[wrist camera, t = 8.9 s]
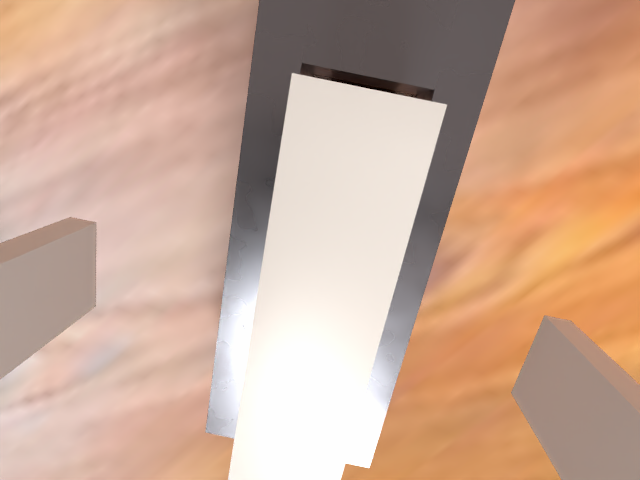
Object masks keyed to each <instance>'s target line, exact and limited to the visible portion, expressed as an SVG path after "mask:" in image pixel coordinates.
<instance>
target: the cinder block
mask: <svg viewBox="0 0 640 480" xmlns="http://www.w3.org/2000/svg"><path fill="white" fill-rule="evenodd" d="M514 2H515V0H259V8H258V16H257V24H256V32H255V40H254V48H253V56H252V64H251V72H250V80H249V88H248V96H247V104H246V112H245V120H244V128H243V136H242V144H241V152H240V160H239V168H238V176H237V184H236V192H235V200H234V208H233V216H232V224H231V232H230V240H229V248H228V256H227V264H226V272H225V281H224V289H223V297H222V305H221V313H220V321H219V329H218V337H217V345H216V353H215V361H214V369H213V377H212V385H211V393H210V401H209V409H208V417H207V425H206V432H207V433H211V434H216V435H220V436H225V437H229V438H234V439H235V433H236V426H237V420H238V413H239V407H240V401H241V394H242V388H243V382H244V375H245V369H246V362H247V356H248V350H249V343H250V337H251V331H252V324H253V318H254V312H255V305H256V299H257V292H258V286H259V280H260V273H261V267H262V261H263V254H264V248H265V241H266V235H267V229H268V222H269V216H270V210H271V203H272V197H273V191H274V184H275V178H276V171H277V165H278V159H279V152H280V146H281V140H282V133H283V127H284V120H285V114H286V108H287V101H288V95H289V89H290V82H291V76H292V73H295V74H300V75H305V76H309V77H313V74H315V75H320V76H325V77H330V78H335V79H340V80H345V81H350V82H355V83H359V84H364V85H369V86H374V87H379V88H384V89H389V90H394V91H399V92H404V93H409V94H413V95H416V98H417V99H422V100H427V101H432V102H437V103H442V104H447V107H446V111H445V114H444V118H443V121H442V125H441V128H440V132H439V135H438V139H437V142H436V146H435V149H434V153H433V156H432V160H431V163H430V167H429V170H428V174H427V177H426V181H425V184H424V188H423V192H422V195H421V199H420V202H419V206H418V209H417V213H416V216H415V220H414V223H413V227H412V230H411V234H410V237H409V241H408V244H407V248H406V251H405V255H404V258H403V262H402V265H401V269H400V273H399V276H398V280H397V283H396V287H395V290H394V294H393V297H392V301H391V304H390V308H389V311H388V315H387V318H386V322H385V325H384V329H383V332H382V336H381V339H380V343H379V346H378V350H377V353H376V357H375V361H374V364H373V368H372V371H371V375H370V378H369V382H368V385H367V389H366V392H365V396H364V399H363V403H362V406H361V410H360V413H359V417H358V420H357V424H356V427H355V431H354V434H353V438H352V442H351V445H350V449H349V452H348V456H347V459H346V463H348V464H353V465H357V466H362V467H367V468H369V467H370V464H371V461H372V457H373V454H374V451H375V448H376V445H377V441H378V438H379V435H380V432H381V429H382V425H383V422H384V419H385V416H386V413H387V409H388V406H389V403H390V400H391V397H392V393H393V390H394V387H395V384H396V381H397V377H398V374H399V371H400V368H401V365H402V361H403V358H404V355H405V352H406V348H407V345H408V342H409V339H410V336H411V332H412V329H413V326H414V323H415V320H416V316H417V313H418V310H419V307H420V304H421V300H422V297H423V294H424V291H425V288H426V284H427V281H428V278H429V275H430V272H431V268H432V265H433V262H434V259H435V256H436V252H437V249H438V246H439V243H440V240H441V236H442V233H443V230H444V227H445V224H446V220H447V217H448V214H449V211H450V207H451V204H452V201H453V198H454V195H455V191H456V188H457V185H458V182H459V179H460V175H461V172H462V169H463V166H464V163H465V159H466V156H467V153H468V150H469V147H470V143H471V140H472V137H473V134H474V131H475V127H476V124H477V121H478V118H479V115H480V111H481V108H482V105H483V102H484V99H485V95H486V92H487V89H488V86H489V83H490V79H491V76H492V73H493V70H494V67H495V63H496V60H497V57H498V54H499V50H500V47H501V44H502V41H503V38H504V34H505V31H506V28H507V25H508V22H509V18H510V15H511V12H512V9H513V6H514Z"/></svg>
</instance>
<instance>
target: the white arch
mask: <svg viewBox="0 0 640 480" xmlns="http://www.w3.org/2000/svg"><path fill="white" fill-rule="evenodd" d="M446 107H447V104H442V103H437V102H432V101H427V100H422V99H417V98H412V97H407V96H403V95H398V94H393V93H388V92H383V91H378V90H373V89H368V88H363V87H358V86H354V85H349V84H344V83H339V82H334V81H329V80H324V79H319V78H314V77H309V76H305V75H300V74H295V73H292V76H291V82H290V89H289V95H288V101H287V108H286V114H285V120H284V127H283V133H282V140H281V146H280V152H279V159H278V165H277V171H276V178H275V184H274V191H273V197H272V203H271V210H270V216H269V222H268V229H267V235H266V241H265V248H264V254H263V261H262V267H261V273H260V280H259V286H258V292H257V299H256V305H255V312H254V318H253V324H252V331H251V337H250V343H249V350H248V356H247V362H246V369H245V375H244V382H243V388H242V394H241V401H240V407H239V413H238V420H237V426H236V433H235V439H234V445H233V452H232V458H231V464H230V471H229V477H228V480H341V477H342V473H343V470H344V466H345V463H346V459H347V456H348V452H349V449H350V445H351V442H352V438H353V434H354V431H355V427H356V424H357V420H358V417H359V413H360V410H361V406H362V403H363V399H364V396H365V392H366V389H367V385H368V382H369V378H370V375H371V371H372V368H373V364H374V361H375V357H376V353H377V350H378V346H379V343H380V339H381V336H382V332H383V329H384V325H385V322H386V318H387V315H388V311H389V308H390V304H391V301H392V297H393V294H394V290H395V287H396V283H397V280H398V276H399V273H400V269H401V265H402V262H403V258H404V255H405V251H406V248H407V244H408V241H409V237H410V234H411V230H412V227H413V223H414V220H415V216H416V213H417V209H418V206H419V202H420V199H421V195H422V192H423V188H424V184H425V181H426V177H427V174H428V170H429V167H430V163H431V160H432V156H433V153H434V149H435V146H436V142H437V139H438V135H439V132H440V128H441V125H442V121H443V118H444V114H445V111H446Z"/></svg>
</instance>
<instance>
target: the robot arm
mask: <svg viewBox="0 0 640 480" xmlns="http://www.w3.org/2000/svg"><path fill="white" fill-rule="evenodd" d="M95 306H96V222H92V221H87V220H82V219H77V218H72V217H69V218H67V219H64V220H61V221H59V222H56V223H53V224H51V225H48V226H45V227H43V228H40V229H37V230H35V231H32V232H29V233H27V234H24V235H21V236H19V237H16V238H13V239H10V240H8V241H5V242H2V243H0V379H1V378H3V377H4V376H5V375H7V374H8V373H9V372H11V371H12V370H13V369H15V368H16V367H17V366H18V365H20V364H21V363H22V362H24V361H25V360H26V359H28V358H29V357H30V356H31V355H33V354H34V353H35V352H37V351H38V350H39V349H41V348H42V347H43V346H45V345H46V344H47V343H48V342H50V341H51V340H52V339H54V338H55V337H56V336H58V335H59V334H60V333H62V332H63V331H64V330H65V329H67V328H68V327H69V326H71V325H72V324H73V323H75V322H76V321H77V320H79V319H80V318H81V317H82V316H84V315H85V314H86V313H88V312H89V311H90V310H92V309H93V308H94V307H95ZM511 394H512V395H513V397H514V399H515V400H516V402H517V404H518V406H519V407H520V409H521V411H522V412H523V414H524V416H525V418H526V419H527V421H528V423H529V424H530V426H531V428H532V430H533V431H534V433H535V435H536V436H537V438H538V440H539V442H540V443H541V445H542V447H543V448H544V450H545V452H546V454H547V455H548V457H549V459H550V460H551V462H552V464H553V466H554V467H555V469H556V471H557V472H558V474H559V476H560V478H561V479H562V480H640V385H639V384H638V383H637V382H636V381H635V380H634V379H633V378H632V377H631V376H630V375H628V374H627V373H626V372H625V371H624V370H623V369H622V368H621V367H620V366H619V365H618V364H617V363H616V362H615V361H613V360H612V359H611V358H610V357H609V356H608V355H607V354H606V353H605V352H604V351H603V350H602V349H601V348H600V347H598V346H597V345H596V344H595V343H594V342H593V341H592V340H591V339H590V338H589V337H588V336H587V335H586V334H584V333H583V332H582V331H581V330H580V329H579V328H578V327H577V326H576V325H575V324H574V323H573V322H572V321H569V320H565V319H560V318H555V317H550V316H544V318H543V320H542V322H541V325H540V327H539V329H538V332H537V334H536V336H535V339H534V341H533V343H532V346H531V348H530V350H529V353H528V355H527V357H526V359H525V362H524V364H523V366H522V369H521V371H520V373H519V376H518V378H517V380H516V383H515V385H514V387H513V390H512V392H511Z"/></svg>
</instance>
